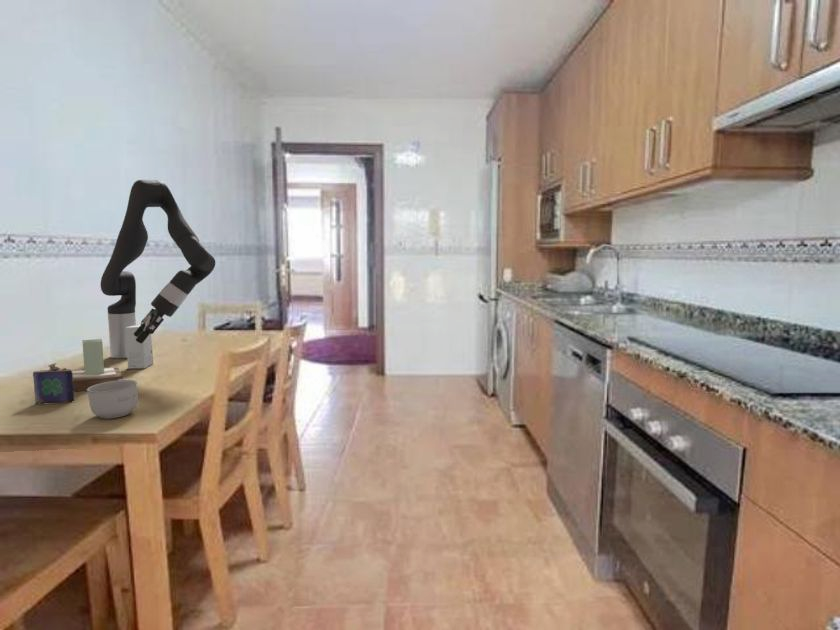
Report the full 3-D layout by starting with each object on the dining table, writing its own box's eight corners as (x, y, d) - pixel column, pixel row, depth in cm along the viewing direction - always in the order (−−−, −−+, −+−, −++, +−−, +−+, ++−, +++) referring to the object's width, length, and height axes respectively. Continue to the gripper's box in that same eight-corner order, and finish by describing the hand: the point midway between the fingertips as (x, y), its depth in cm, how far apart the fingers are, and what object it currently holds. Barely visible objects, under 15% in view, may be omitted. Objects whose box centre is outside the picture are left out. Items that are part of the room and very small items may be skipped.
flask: (33, 404, 138) (30, 365, 137) (39, 401, 141) (36, 363, 139) (71, 403, 140) (69, 364, 139) (76, 400, 143) (74, 362, 141)
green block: (84, 372, 160) (82, 340, 159) (103, 370, 163) (101, 338, 162) (85, 375, 156) (82, 342, 155) (104, 373, 159) (102, 341, 158)
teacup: (126, 421, 125) (124, 389, 124) (79, 422, 124) (77, 390, 123) (151, 405, 139) (149, 376, 138) (109, 405, 138) (107, 376, 137)
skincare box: (144, 368, 181) (142, 327, 179) (126, 369, 180) (124, 327, 178) (153, 363, 189) (151, 323, 187) (136, 364, 188) (134, 324, 187)
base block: (67, 382, 161) (66, 371, 161) (118, 376, 169) (117, 365, 169) (68, 392, 150) (67, 380, 150) (123, 385, 158) (122, 374, 158)
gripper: (157, 289, 174) (124, 328, 171) (162, 295, 163) (128, 337, 159) (176, 302, 178) (145, 340, 175) (183, 309, 167) (149, 350, 163)
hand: (137, 339), depth 167 cm, fingers open, 8 cm apart
